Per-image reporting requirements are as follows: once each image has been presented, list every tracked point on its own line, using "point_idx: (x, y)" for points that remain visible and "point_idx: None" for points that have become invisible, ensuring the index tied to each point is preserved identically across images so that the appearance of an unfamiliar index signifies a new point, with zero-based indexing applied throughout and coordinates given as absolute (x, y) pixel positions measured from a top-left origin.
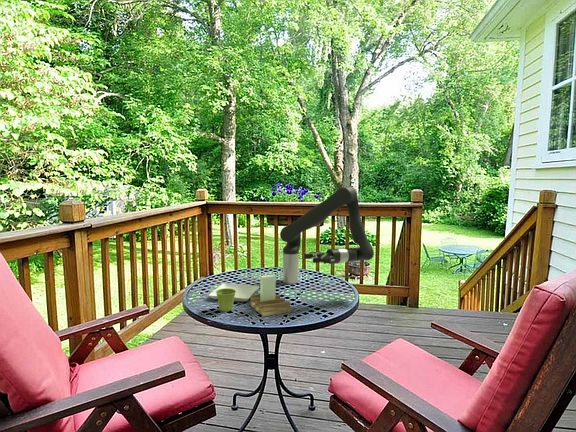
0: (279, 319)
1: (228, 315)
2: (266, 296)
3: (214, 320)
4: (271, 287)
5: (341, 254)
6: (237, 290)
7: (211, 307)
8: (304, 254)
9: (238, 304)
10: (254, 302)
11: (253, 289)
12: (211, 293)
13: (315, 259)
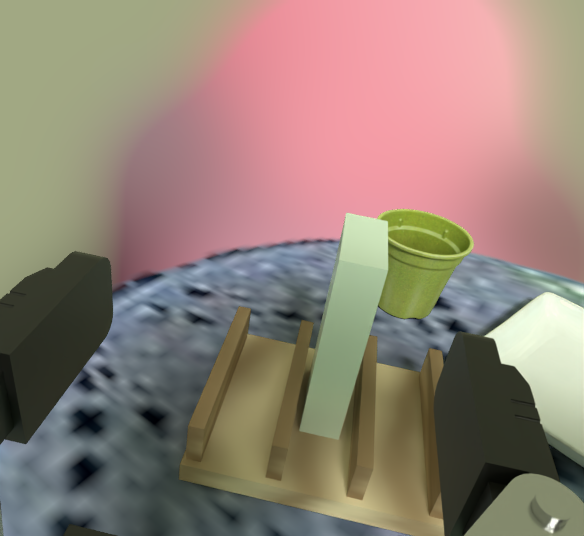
0: (138, 368)
1: (330, 281)
2: (318, 337)
3: (310, 245)
4: (325, 313)
5: None
6: None
7: (446, 286)
8: (490, 338)
9: (445, 356)
10: (402, 380)
11: None
12: (580, 310)
13: (40, 274)
